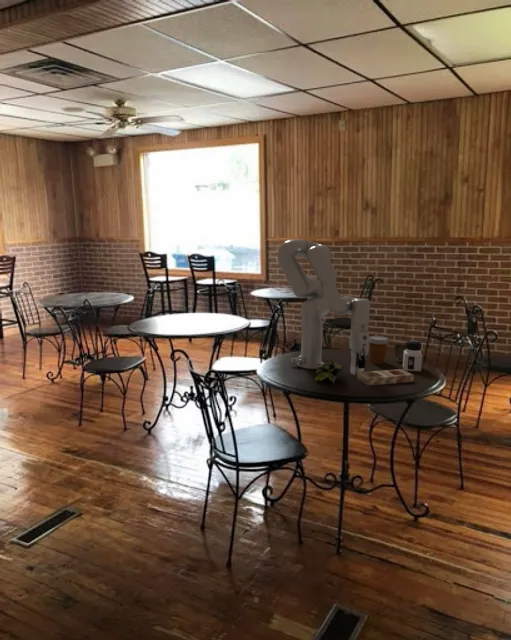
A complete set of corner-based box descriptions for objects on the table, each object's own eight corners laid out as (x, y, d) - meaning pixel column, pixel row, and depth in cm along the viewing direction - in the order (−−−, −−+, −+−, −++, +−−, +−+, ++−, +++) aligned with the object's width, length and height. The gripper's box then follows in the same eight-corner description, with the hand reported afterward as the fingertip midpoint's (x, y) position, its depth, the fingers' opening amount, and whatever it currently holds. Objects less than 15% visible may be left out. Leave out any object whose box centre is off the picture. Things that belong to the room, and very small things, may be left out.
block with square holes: (367, 385, 221) (367, 378, 220) (356, 379, 229) (357, 372, 229) (413, 381, 228) (413, 374, 227) (401, 375, 236) (401, 369, 236)
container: (421, 371, 243) (423, 344, 240) (403, 370, 244) (405, 342, 242) (419, 367, 250) (421, 340, 248) (402, 365, 252) (404, 339, 249)
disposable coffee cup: (363, 362, 256) (365, 338, 254) (371, 358, 264) (373, 334, 262) (382, 365, 251) (384, 341, 249) (390, 361, 259) (391, 337, 256)
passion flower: (328, 391, 230) (343, 367, 231) (337, 394, 219) (352, 370, 220) (308, 377, 228) (323, 353, 229) (315, 380, 217) (331, 355, 219)
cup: (406, 364, 254) (407, 348, 253) (391, 362, 258) (392, 346, 256) (410, 361, 260) (412, 345, 259) (395, 358, 264) (397, 343, 263)
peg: (354, 375, 235) (356, 353, 233) (350, 372, 239) (351, 351, 237) (363, 374, 236) (365, 352, 234) (358, 371, 240) (360, 350, 238)
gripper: (377, 330, 227) (374, 370, 230) (357, 322, 243) (355, 360, 246) (361, 331, 224) (359, 372, 228) (342, 323, 240) (340, 361, 244)
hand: (357, 365), depth 237 cm, fingers open, 6 cm apart
